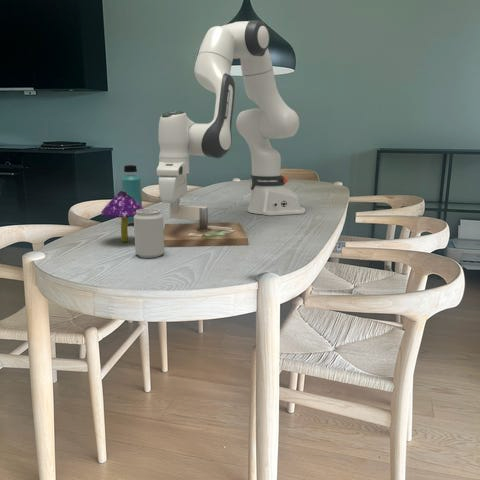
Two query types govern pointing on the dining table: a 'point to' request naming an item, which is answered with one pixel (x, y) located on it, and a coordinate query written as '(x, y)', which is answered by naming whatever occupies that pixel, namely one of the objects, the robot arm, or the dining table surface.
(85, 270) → the dining table surface
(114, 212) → the decorative mushroom
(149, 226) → the can
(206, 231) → the board
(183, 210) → the cream lever
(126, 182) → the beverage bottle
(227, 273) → the dining table surface
